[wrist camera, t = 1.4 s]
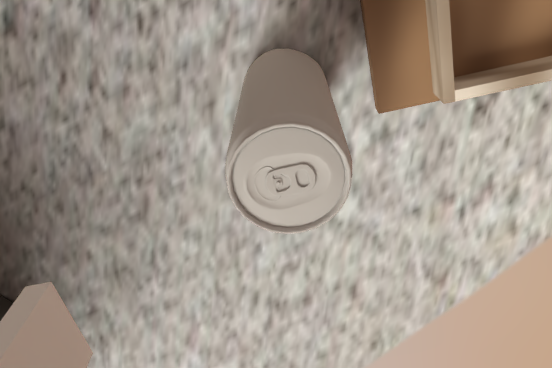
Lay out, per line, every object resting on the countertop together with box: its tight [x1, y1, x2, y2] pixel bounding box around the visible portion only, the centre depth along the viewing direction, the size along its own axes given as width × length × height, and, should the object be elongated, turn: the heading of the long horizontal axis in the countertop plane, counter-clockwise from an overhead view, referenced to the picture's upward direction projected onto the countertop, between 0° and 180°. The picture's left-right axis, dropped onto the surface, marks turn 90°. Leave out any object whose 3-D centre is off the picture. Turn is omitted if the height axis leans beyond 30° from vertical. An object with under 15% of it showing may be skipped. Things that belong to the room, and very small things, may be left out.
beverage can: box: [225, 48, 352, 234], centre depth 22 cm, size 5×5×12 cm
